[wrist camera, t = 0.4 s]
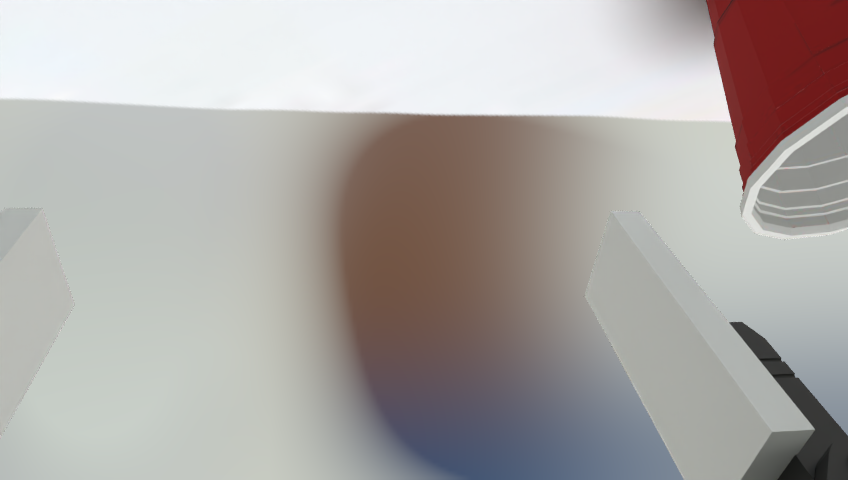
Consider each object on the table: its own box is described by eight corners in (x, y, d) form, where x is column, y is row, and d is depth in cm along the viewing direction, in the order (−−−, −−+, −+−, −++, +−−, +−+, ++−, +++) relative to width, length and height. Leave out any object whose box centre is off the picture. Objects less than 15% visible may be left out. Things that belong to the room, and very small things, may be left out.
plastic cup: (947, -75, 26) (1124, 137, 21) (719, 72, 33) (804, 259, 28) (870, -246, 20) (1095, -6, 14) (607, -19, 27) (689, 200, 21)
